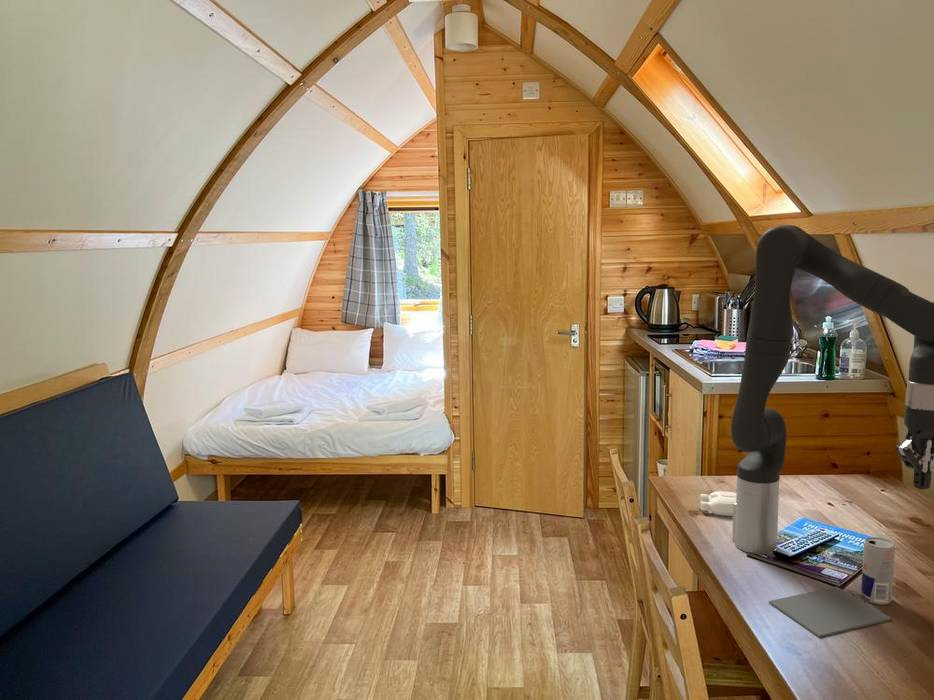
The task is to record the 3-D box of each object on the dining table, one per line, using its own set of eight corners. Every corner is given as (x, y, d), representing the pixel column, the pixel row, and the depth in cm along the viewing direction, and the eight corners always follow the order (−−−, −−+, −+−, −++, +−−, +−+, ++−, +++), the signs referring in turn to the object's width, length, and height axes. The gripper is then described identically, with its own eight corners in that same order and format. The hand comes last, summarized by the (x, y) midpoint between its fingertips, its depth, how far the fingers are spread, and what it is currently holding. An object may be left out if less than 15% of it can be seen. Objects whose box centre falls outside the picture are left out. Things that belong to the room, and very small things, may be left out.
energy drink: (863, 589, 142) (866, 534, 141) (893, 597, 139) (897, 541, 137) (858, 600, 138) (861, 544, 136) (889, 608, 135) (893, 550, 133)
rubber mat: (768, 603, 138) (768, 601, 138) (836, 588, 143) (836, 586, 143) (818, 637, 126) (818, 635, 126) (890, 620, 131) (891, 618, 131)
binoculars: (766, 522, 178) (767, 505, 177) (701, 516, 182) (701, 500, 182) (762, 507, 187) (762, 490, 187) (700, 502, 192) (700, 486, 191)
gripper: (935, 396, 141) (929, 477, 144) (884, 403, 137) (879, 486, 140) (971, 404, 134) (964, 489, 136) (919, 411, 130) (913, 499, 133)
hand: (921, 488), depth 138 cm, fingers closed
